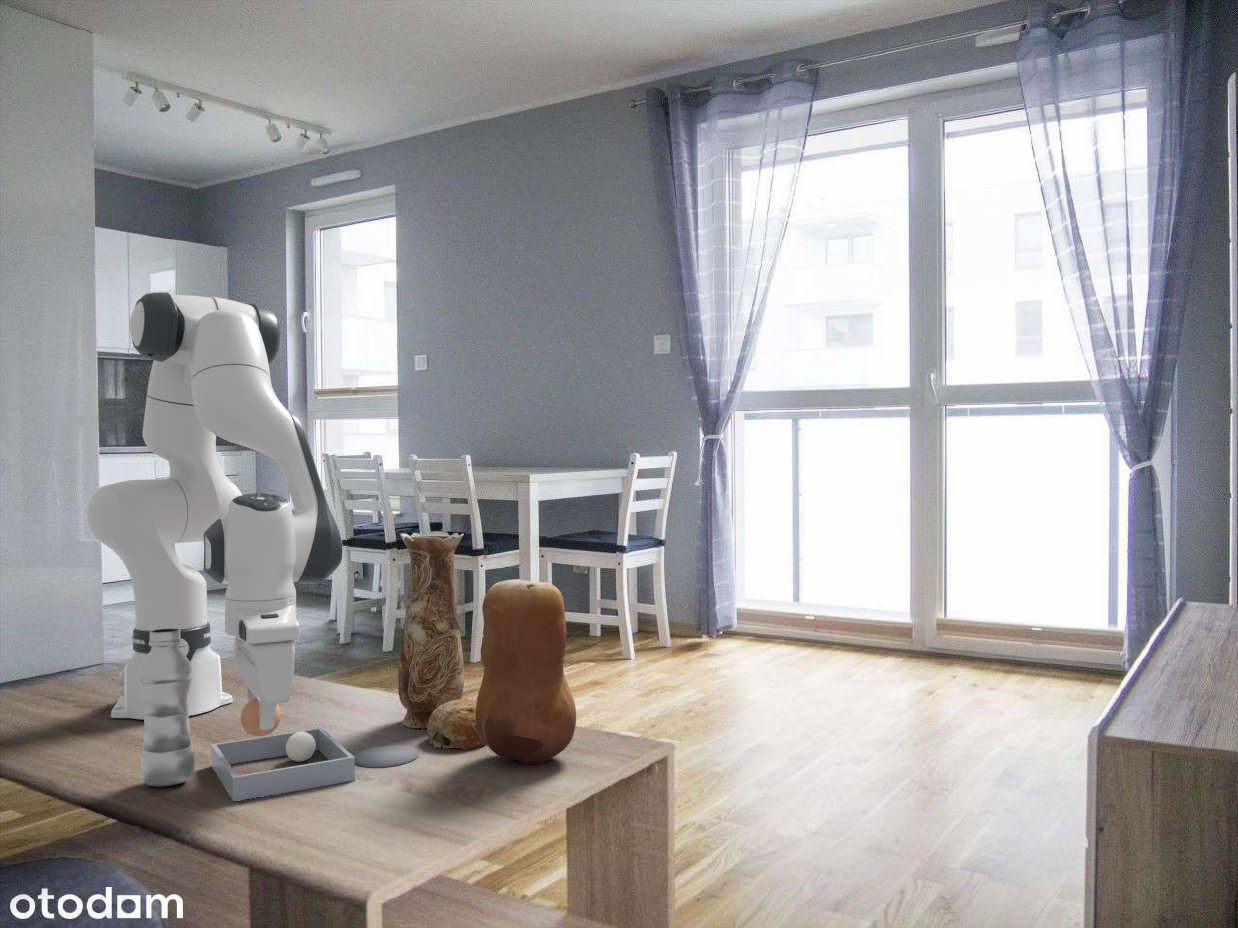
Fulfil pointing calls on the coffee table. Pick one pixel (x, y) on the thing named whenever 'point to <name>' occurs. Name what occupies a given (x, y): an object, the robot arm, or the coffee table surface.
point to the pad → (385, 756)
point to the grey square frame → (282, 779)
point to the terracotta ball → (256, 719)
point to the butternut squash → (524, 673)
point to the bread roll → (454, 725)
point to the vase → (430, 629)
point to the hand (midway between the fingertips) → (261, 722)
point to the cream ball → (300, 746)
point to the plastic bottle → (166, 711)
